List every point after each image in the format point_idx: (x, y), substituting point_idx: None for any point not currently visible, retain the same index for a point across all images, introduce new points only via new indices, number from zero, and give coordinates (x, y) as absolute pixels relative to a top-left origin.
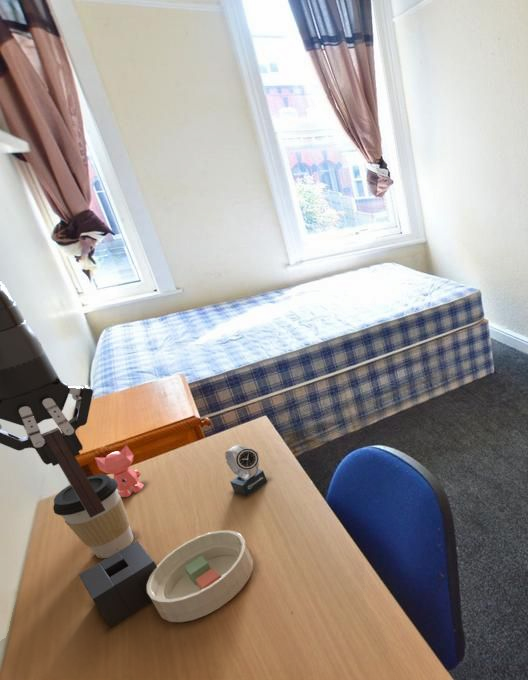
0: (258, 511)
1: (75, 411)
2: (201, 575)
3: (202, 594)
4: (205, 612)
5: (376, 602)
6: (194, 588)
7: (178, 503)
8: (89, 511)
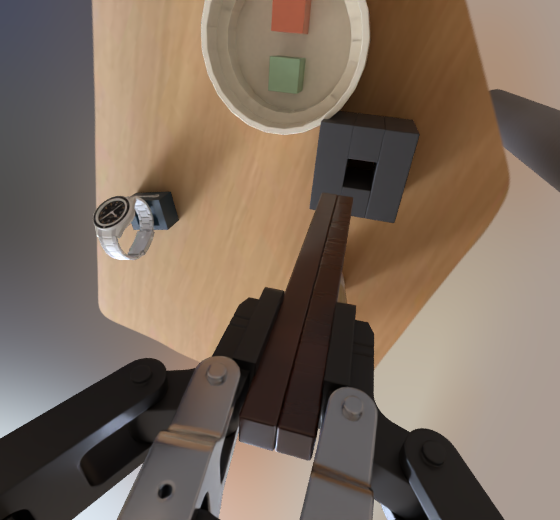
0: (171, 137)
1: (120, 466)
2: (291, 30)
3: None
4: None
5: None
6: (310, 55)
7: (238, 276)
8: (348, 202)
